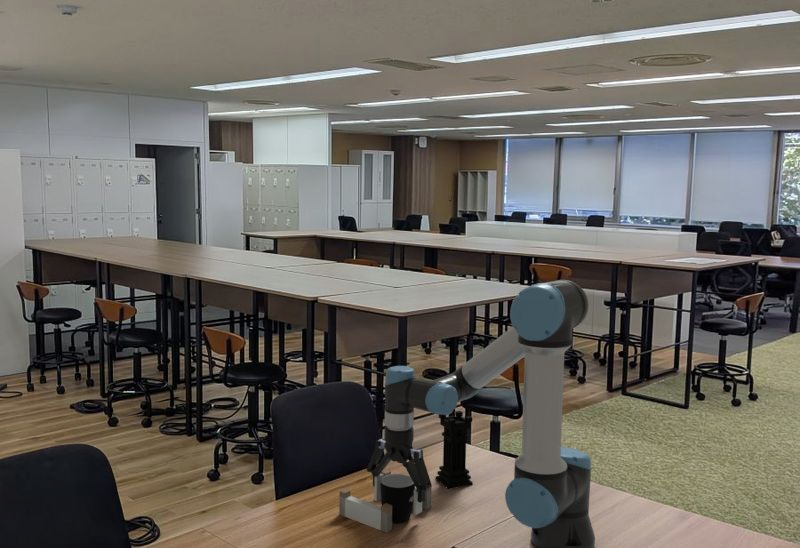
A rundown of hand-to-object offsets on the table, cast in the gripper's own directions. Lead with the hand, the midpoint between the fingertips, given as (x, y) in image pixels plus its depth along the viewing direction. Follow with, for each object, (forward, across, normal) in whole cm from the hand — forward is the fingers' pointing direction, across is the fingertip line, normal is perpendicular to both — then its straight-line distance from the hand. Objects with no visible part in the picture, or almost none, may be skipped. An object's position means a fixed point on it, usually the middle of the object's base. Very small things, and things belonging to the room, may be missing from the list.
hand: (397, 506), depth 187 cm
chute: (+2, +4, 0) cm, 5 cm away
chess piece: (+3, +1, -28) cm, 28 cm away
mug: (+3, 0, 0) cm, 3 cm away
